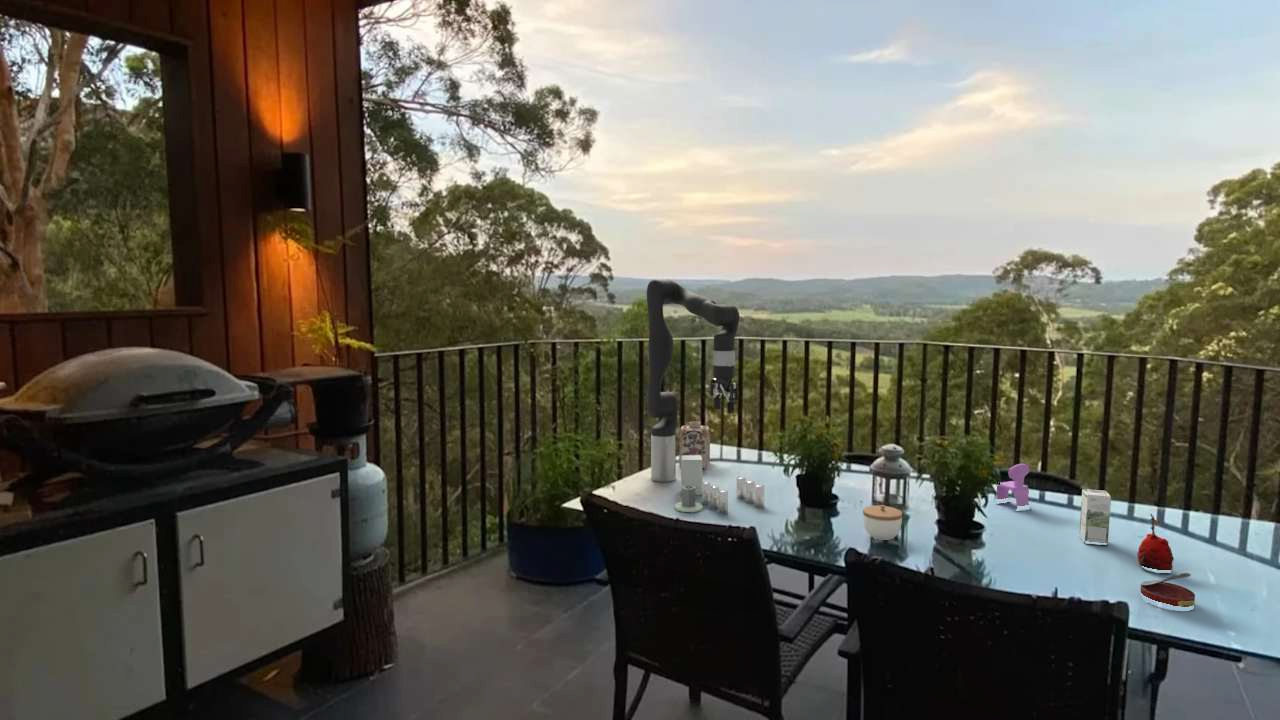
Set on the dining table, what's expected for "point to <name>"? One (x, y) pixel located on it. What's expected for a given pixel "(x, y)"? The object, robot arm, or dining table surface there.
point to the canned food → (1168, 591)
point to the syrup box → (1095, 515)
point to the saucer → (685, 509)
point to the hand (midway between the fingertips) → (723, 411)
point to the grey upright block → (688, 496)
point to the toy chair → (1015, 485)
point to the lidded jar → (882, 521)
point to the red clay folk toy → (1155, 551)
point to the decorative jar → (695, 442)
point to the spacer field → (721, 496)
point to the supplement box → (691, 472)
